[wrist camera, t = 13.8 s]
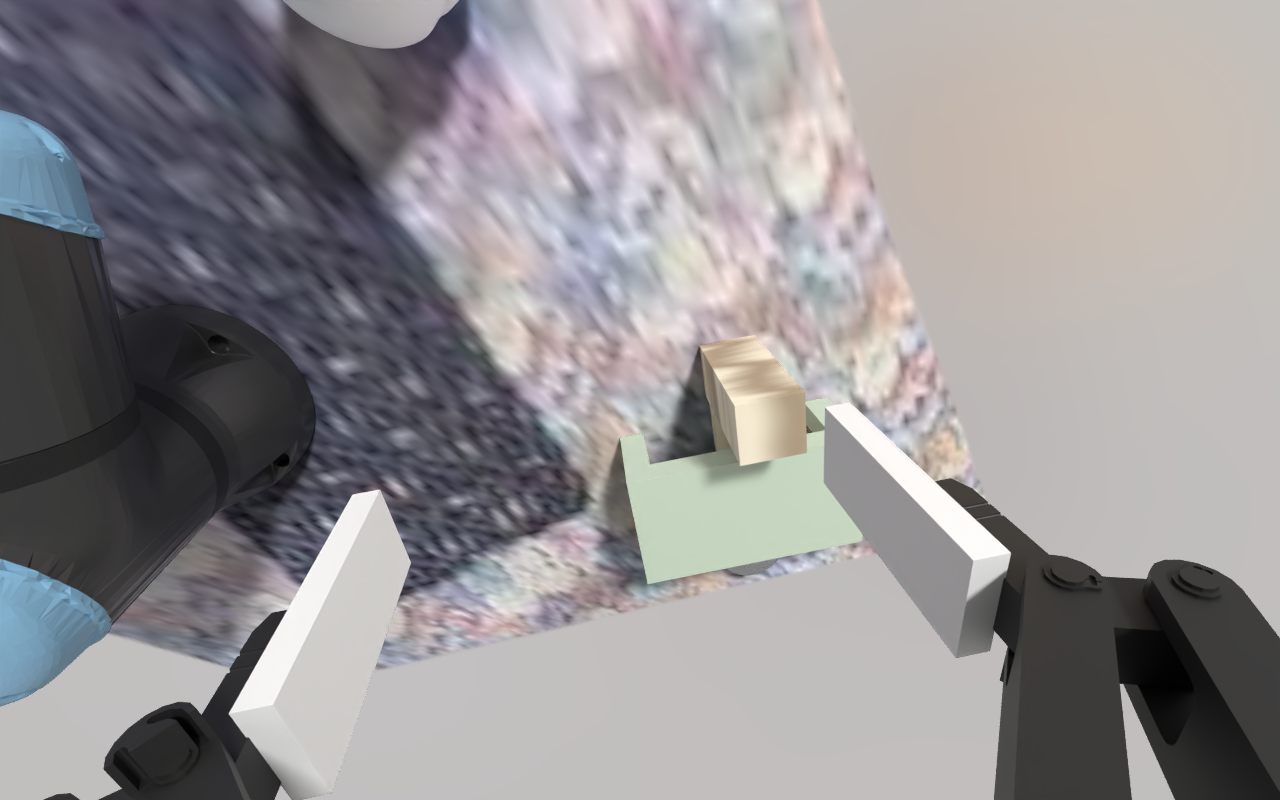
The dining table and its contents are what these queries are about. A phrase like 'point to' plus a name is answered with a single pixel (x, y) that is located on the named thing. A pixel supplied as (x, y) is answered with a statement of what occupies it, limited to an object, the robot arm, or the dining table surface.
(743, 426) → the pusher
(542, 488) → the dining table surface
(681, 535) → the footstool
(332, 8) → the figurine
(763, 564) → the token
